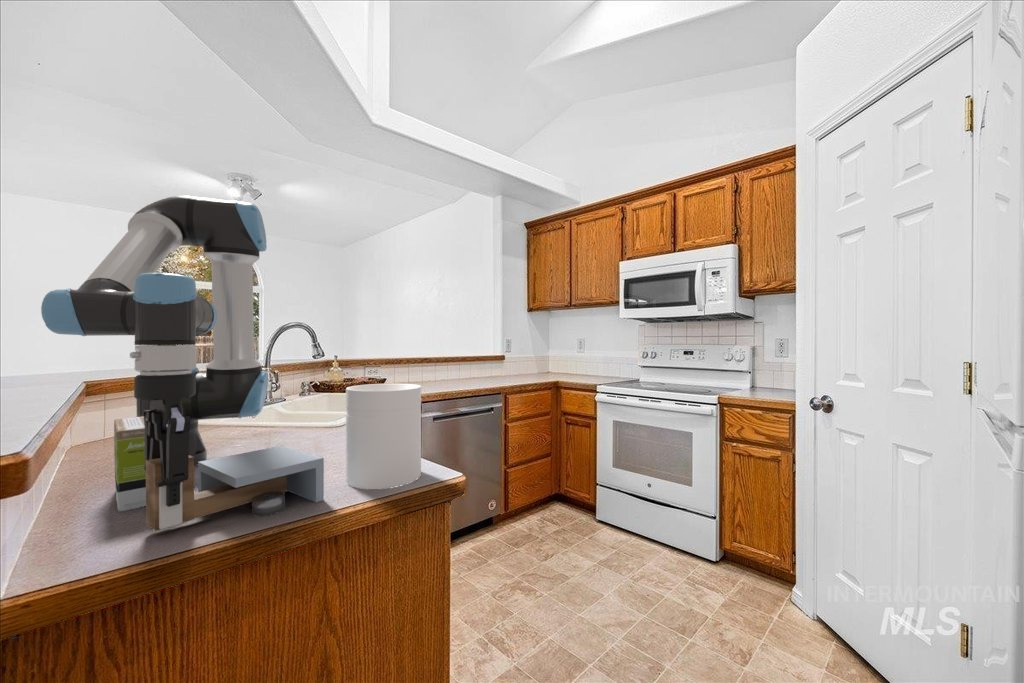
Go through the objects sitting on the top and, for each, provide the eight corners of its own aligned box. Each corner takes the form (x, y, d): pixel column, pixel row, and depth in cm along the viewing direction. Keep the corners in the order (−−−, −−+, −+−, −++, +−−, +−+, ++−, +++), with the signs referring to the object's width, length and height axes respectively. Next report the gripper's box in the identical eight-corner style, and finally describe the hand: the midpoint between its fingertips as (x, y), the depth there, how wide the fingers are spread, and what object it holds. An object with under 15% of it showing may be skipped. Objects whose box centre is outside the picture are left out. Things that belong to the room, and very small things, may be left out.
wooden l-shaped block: (145, 524, 66) (145, 460, 66) (276, 487, 83) (276, 436, 83) (155, 530, 64) (155, 464, 64) (287, 491, 81) (287, 439, 81)
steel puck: (247, 511, 75) (247, 497, 75) (276, 502, 79) (276, 489, 79) (260, 518, 72) (260, 503, 72) (289, 509, 76) (289, 495, 76)
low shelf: (198, 505, 78) (198, 461, 78) (281, 483, 90) (281, 445, 90) (235, 528, 68) (235, 478, 68) (323, 500, 81) (323, 457, 81)
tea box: (113, 491, 85) (113, 417, 85) (176, 480, 92) (176, 412, 92) (115, 513, 74) (115, 429, 74) (187, 498, 81) (187, 421, 81)
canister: (436, 474, 97) (436, 386, 97) (379, 495, 83) (379, 393, 83) (388, 462, 105) (389, 382, 105) (330, 480, 92) (330, 388, 92)
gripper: (119, 371, 69) (119, 516, 69) (152, 377, 59) (152, 546, 59) (176, 369, 75) (176, 502, 75) (215, 373, 65) (214, 527, 65)
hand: (165, 521), depth 67 cm, fingers closed on wooden l-shaped block, 4 cm apart
